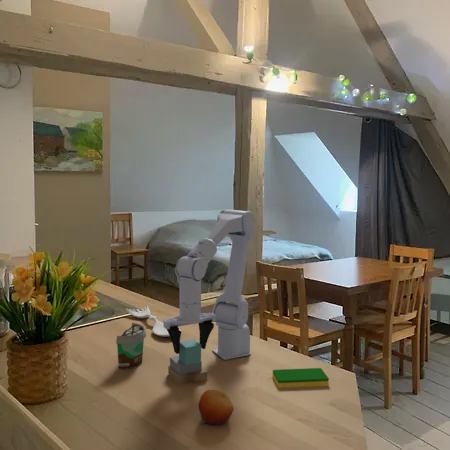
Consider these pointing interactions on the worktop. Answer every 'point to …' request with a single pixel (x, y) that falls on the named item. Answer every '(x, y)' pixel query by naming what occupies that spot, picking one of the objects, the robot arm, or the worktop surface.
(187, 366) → the gray block
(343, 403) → the worktop surface
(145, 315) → the spoon
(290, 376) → the dish sponge
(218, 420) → the fruit
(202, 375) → the walnut slab
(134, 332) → the food container
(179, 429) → the worktop surface
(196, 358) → the teal block
